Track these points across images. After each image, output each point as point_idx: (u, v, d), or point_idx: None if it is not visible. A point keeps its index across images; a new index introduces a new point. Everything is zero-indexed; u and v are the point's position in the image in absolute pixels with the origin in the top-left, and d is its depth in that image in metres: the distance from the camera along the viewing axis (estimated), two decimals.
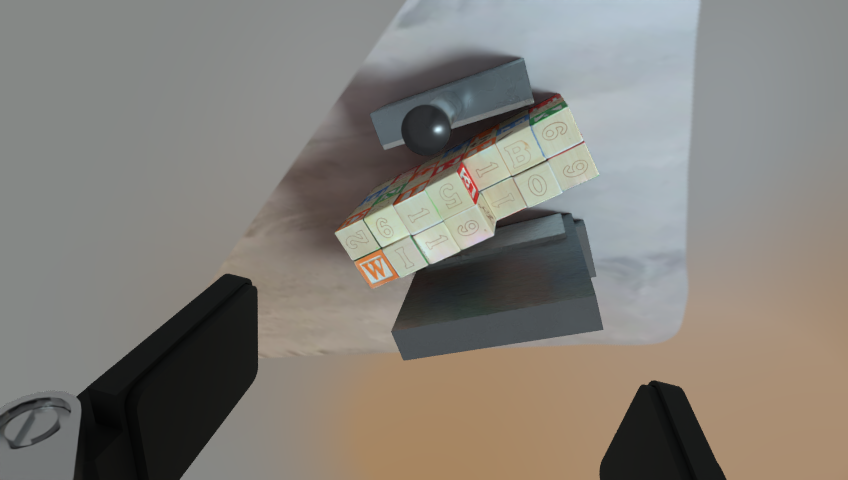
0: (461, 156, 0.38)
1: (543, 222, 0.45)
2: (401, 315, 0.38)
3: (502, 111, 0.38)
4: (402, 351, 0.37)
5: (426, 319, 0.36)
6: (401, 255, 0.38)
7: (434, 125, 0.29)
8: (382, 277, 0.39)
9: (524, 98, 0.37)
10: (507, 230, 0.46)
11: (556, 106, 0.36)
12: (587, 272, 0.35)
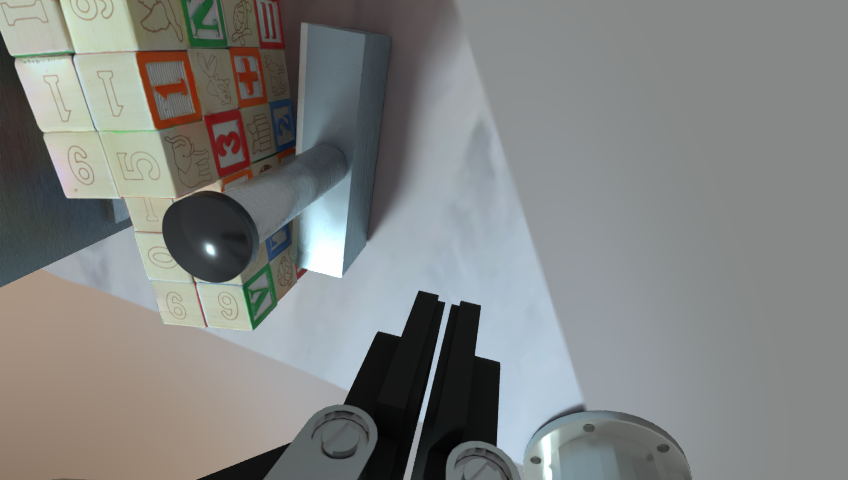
0: (239, 165, 0.24)
1: None
2: None
3: (294, 224, 0.27)
4: None
5: None
6: (30, 9, 0.17)
7: (209, 261, 0.16)
8: None
9: (299, 257, 0.28)
10: None
11: (271, 297, 0.28)
12: None
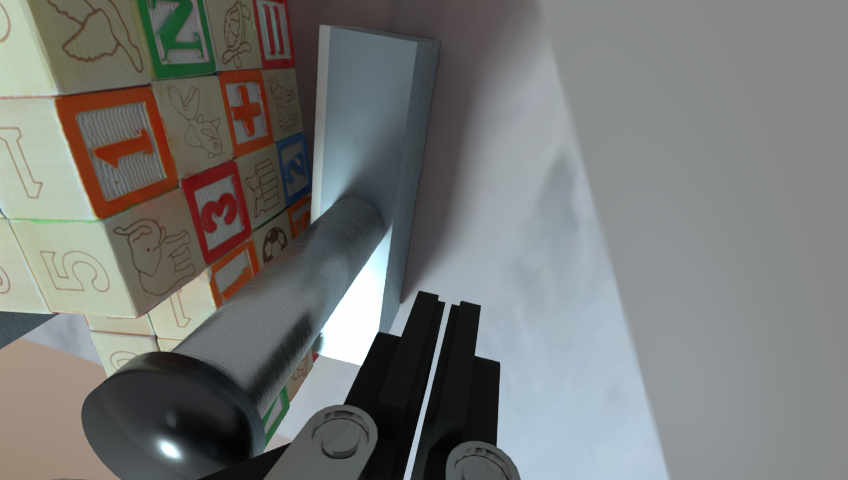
0: (236, 239, 0.17)
1: None
2: None
3: None
4: None
5: None
6: None
7: (173, 479, 0.08)
8: None
9: (315, 341, 0.21)
10: None
11: (282, 401, 0.21)
12: None
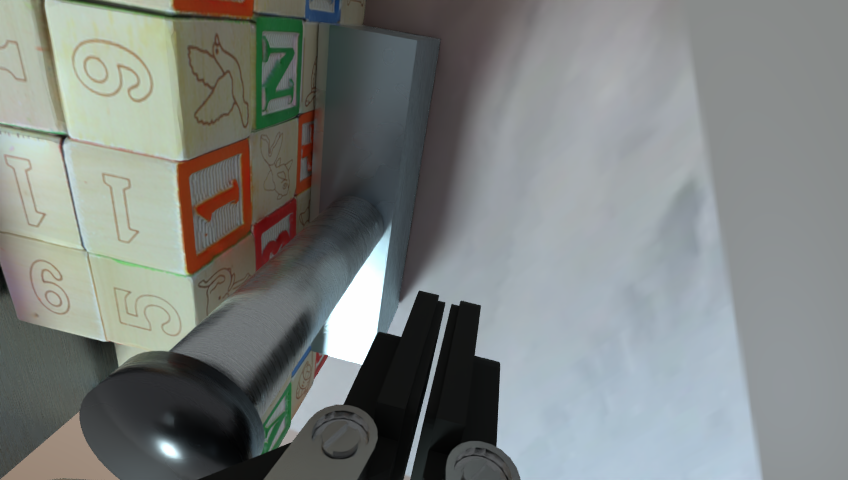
0: None
1: None
2: None
3: None
4: None
5: None
6: None
7: (171, 478, 0.08)
8: None
9: (314, 340, 0.21)
10: None
11: (286, 421, 0.21)
12: (25, 454, 0.15)
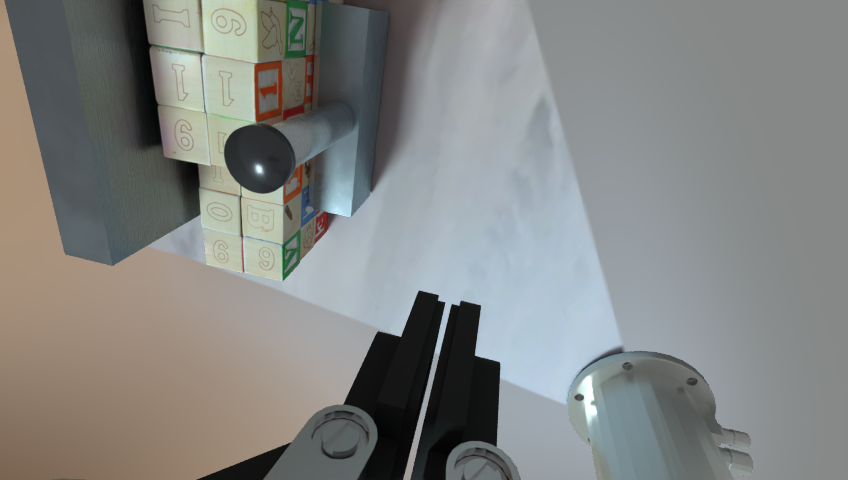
0: None
1: None
2: None
3: (311, 172, 0.33)
4: None
5: (80, 9, 0.20)
6: (176, 14, 0.22)
7: (259, 176, 0.21)
8: None
9: (315, 200, 0.33)
10: None
11: (297, 256, 0.34)
12: (155, 239, 0.28)
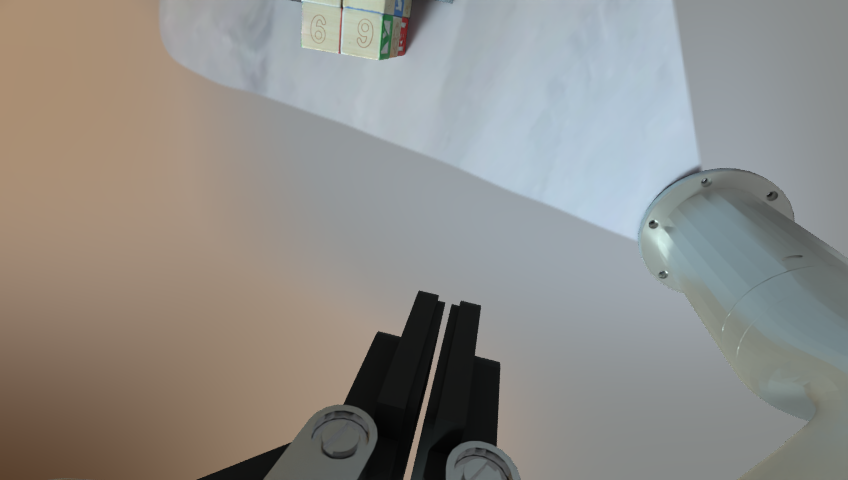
0: None
1: None
2: None
3: None
4: None
5: None
6: None
7: None
8: None
9: None
10: None
11: (388, 48, 0.34)
12: None
